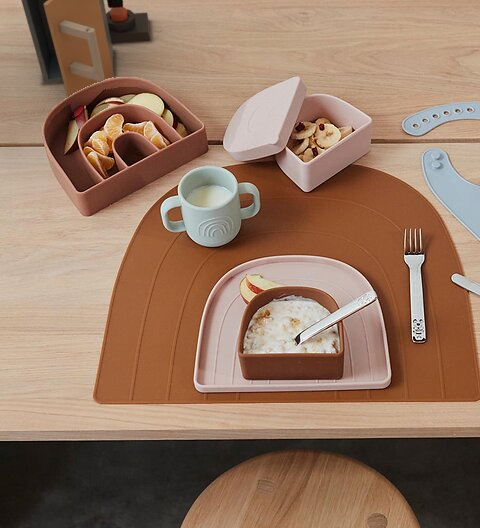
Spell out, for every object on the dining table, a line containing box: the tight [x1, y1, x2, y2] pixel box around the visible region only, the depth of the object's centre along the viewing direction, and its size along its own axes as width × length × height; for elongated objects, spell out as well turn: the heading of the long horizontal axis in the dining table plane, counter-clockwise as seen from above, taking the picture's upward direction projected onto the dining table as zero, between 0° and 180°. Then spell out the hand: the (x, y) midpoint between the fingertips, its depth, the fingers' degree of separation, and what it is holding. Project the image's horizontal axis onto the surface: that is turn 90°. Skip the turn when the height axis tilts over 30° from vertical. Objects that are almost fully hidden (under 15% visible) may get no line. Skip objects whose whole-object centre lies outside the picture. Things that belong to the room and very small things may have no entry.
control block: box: [106, 8, 151, 44], centre depth 158 cm, size 12×8×4 cm, turn 98°
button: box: [109, 6, 128, 22], centre depth 156 cm, size 4×4×2 cm
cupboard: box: [21, 0, 114, 84], centre depth 142 cm, size 10×14×24 cm
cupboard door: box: [44, 0, 115, 119], centre depth 134 cm, size 8×14×24 cm, turn 155°
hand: (115, 5), depth 154 cm, fingers closed
